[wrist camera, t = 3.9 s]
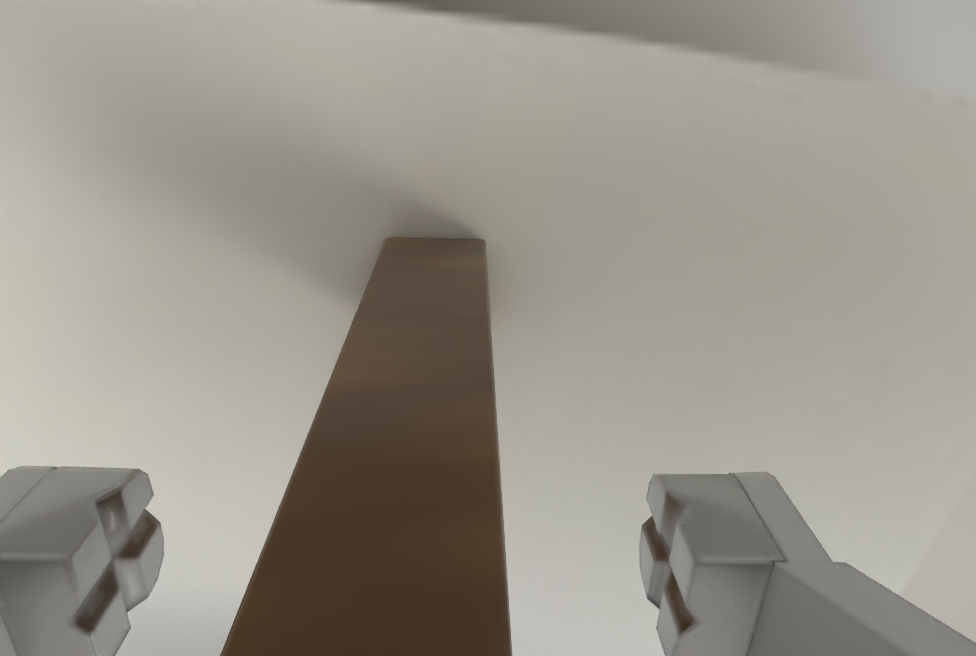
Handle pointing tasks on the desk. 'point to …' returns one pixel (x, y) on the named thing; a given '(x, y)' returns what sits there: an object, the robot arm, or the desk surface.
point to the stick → (395, 481)
